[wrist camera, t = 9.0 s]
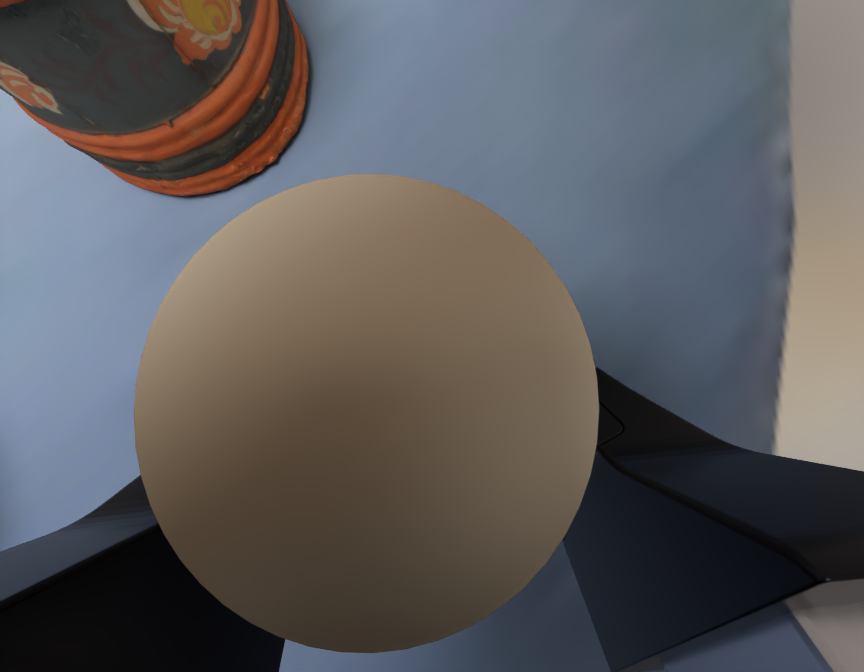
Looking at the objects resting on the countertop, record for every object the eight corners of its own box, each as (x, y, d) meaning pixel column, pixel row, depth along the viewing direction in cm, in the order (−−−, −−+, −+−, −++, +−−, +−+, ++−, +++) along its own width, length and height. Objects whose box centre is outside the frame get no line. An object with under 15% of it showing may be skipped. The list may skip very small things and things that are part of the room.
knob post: (502, 375, 16) (706, 414, 3) (427, 445, 16) (333, 769, 3) (433, 302, 16) (376, 89, 4) (359, 369, 16) (50, 381, 4)
